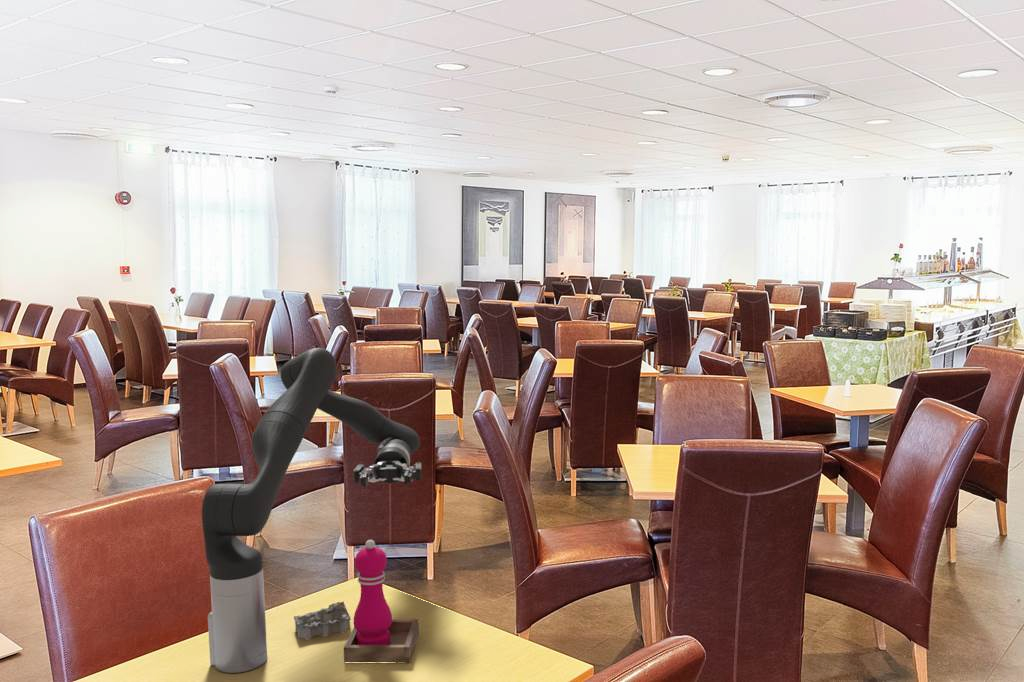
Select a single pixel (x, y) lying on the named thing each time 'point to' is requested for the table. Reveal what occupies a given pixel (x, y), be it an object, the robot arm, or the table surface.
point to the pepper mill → (372, 597)
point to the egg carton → (323, 621)
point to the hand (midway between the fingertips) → (385, 481)
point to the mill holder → (396, 651)
